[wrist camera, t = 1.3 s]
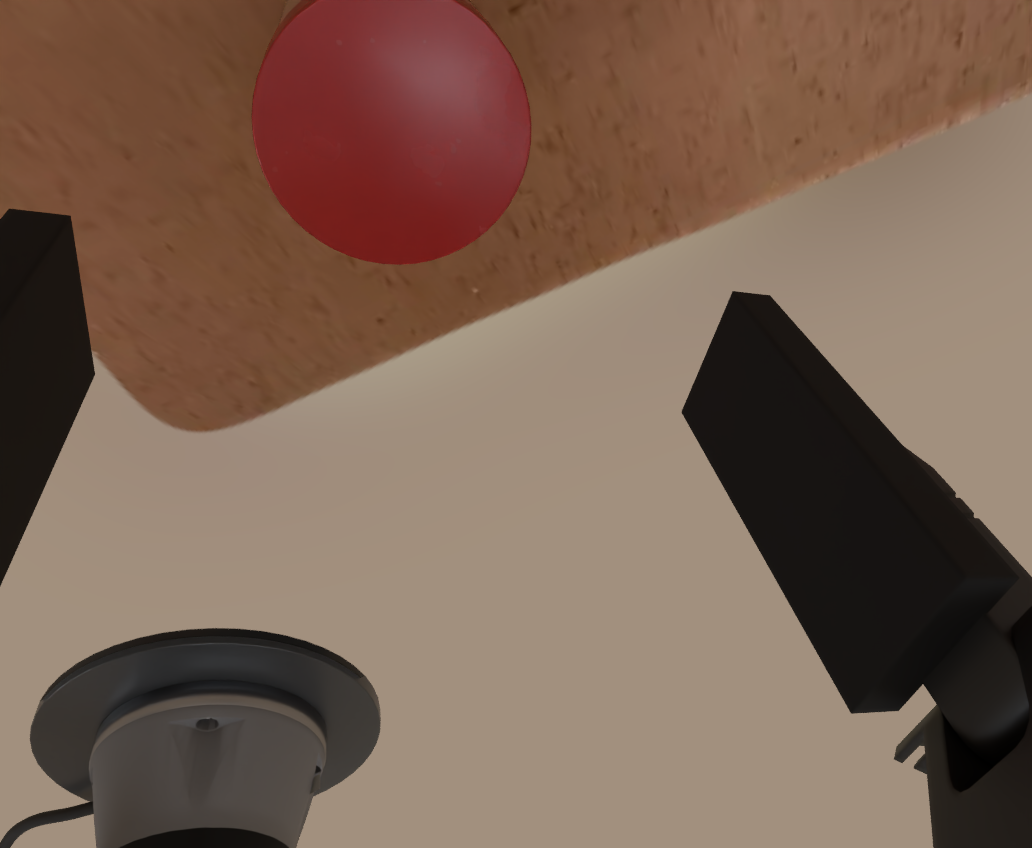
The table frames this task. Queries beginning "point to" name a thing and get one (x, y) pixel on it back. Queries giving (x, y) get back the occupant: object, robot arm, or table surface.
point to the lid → (391, 125)
